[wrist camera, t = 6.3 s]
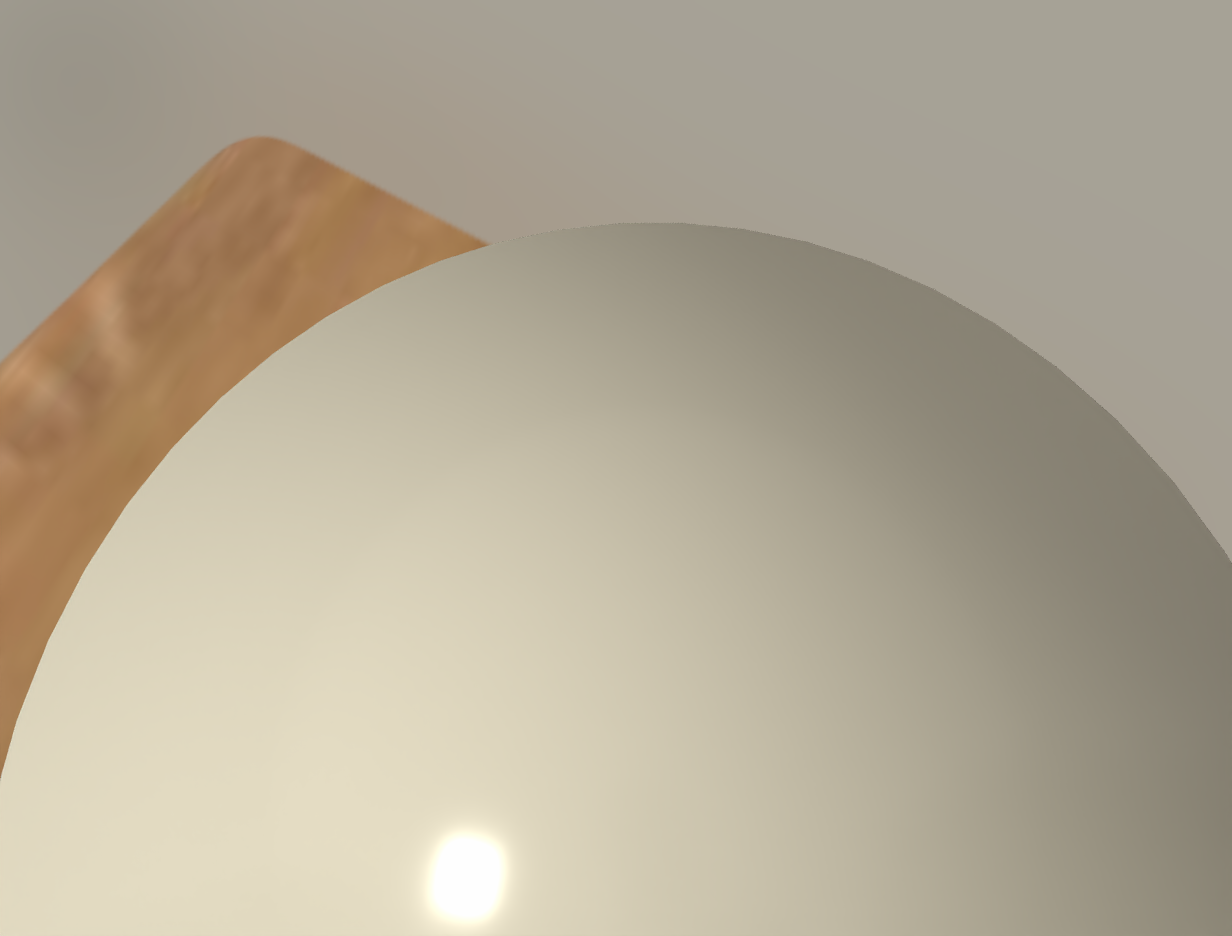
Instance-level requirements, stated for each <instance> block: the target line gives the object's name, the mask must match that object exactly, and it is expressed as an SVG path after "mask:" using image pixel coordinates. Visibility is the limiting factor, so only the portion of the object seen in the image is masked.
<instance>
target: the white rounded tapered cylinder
mask: <svg viewBox="0 0 1232 936" xmlns="http://www.w3.org/2000/svg"><path fill="white" fill-rule="evenodd" d="M0 936H1232V563H1231V561H1230V560H1229V558H1228V556H1227V554H1226V553H1225V552H1224V550H1223V549H1222V547H1220V545H1219V543H1218V542H1217V541H1216V539H1215V538H1214V537H1213V535H1212V534H1211V532H1210V531H1209V530H1208V528H1207V527H1206V526H1205V524H1204V523H1203V522H1202V520H1201V519H1200V517H1199V516H1198V515H1197V513H1196V512H1195V511H1194V509H1193V508H1192V507H1191V505H1190V504H1189V502H1188V501H1187V500H1186V498H1185V497H1184V496H1183V494H1182V493H1181V492H1180V491H1179V489H1178V488H1177V486H1176V485H1175V483H1174V482H1173V481H1172V480H1171V479H1170V478H1169V477H1168V476H1167V474H1166V473H1165V472H1164V471H1163V470H1162V469H1161V468H1160V467H1159V466H1158V465H1157V464H1156V463H1155V461H1154V460H1153V459H1152V458H1151V457H1150V456H1149V455H1148V454H1147V453H1146V451H1145V450H1144V449H1143V448H1142V447H1141V446H1140V445H1139V444H1138V443H1137V442H1136V441H1135V440H1134V438H1133V437H1132V436H1131V435H1130V434H1129V433H1128V432H1127V431H1126V430H1125V429H1124V427H1122V425H1121V424H1120V423H1119V422H1118V421H1117V420H1116V419H1115V418H1114V417H1113V416H1112V415H1110V414H1109V413H1108V412H1107V411H1106V410H1105V409H1104V408H1103V407H1101V406H1100V405H1099V404H1098V403H1097V402H1096V401H1095V400H1093V399H1092V398H1091V397H1090V396H1089V395H1088V394H1086V393H1085V392H1084V391H1083V390H1082V389H1081V388H1080V387H1079V386H1078V385H1076V384H1075V383H1074V382H1073V381H1072V380H1071V379H1069V378H1068V377H1067V376H1066V375H1065V374H1064V373H1063V372H1062V371H1060V370H1059V369H1058V368H1057V367H1056V366H1054V365H1053V364H1051V363H1050V362H1049V361H1047V360H1046V359H1044V358H1043V357H1042V356H1040V355H1039V354H1037V353H1036V352H1035V351H1033V350H1032V349H1030V348H1029V347H1027V346H1026V345H1025V344H1023V343H1022V342H1020V341H1019V340H1017V339H1016V338H1015V337H1013V336H1012V335H1010V334H1009V333H1008V332H1006V331H1005V330H1003V329H1002V328H1001V327H999V326H998V325H996V324H995V323H993V322H991V321H989V320H988V319H986V318H984V317H982V316H981V315H979V314H977V313H975V312H973V311H972V310H970V309H968V308H966V307H965V306H963V305H961V304H959V303H957V302H956V301H954V300H952V299H950V298H948V297H947V296H945V295H943V294H941V293H940V292H938V291H936V290H934V289H932V288H930V287H928V286H925V285H923V284H921V283H918V282H916V281H913V280H911V279H909V278H907V277H904V276H902V275H900V274H897V273H895V272H893V271H890V270H888V269H886V268H884V267H881V266H879V265H876V264H874V263H872V262H869V261H866V260H863V259H860V258H857V257H853V256H850V255H847V254H843V253H841V252H837V251H834V250H831V249H828V248H825V247H821V246H818V245H815V244H812V243H809V242H805V241H800V240H795V239H790V238H785V237H780V236H775V235H770V234H765V233H760V232H755V231H750V230H745V229H737V228H727V227H717V226H706V225H696V224H686V223H618V224H609V225H599V226H590V227H581V228H571V229H562V230H556V231H551V232H546V233H541V234H536V235H532V236H527V237H522V238H518V239H513V240H508V241H503V242H498V243H495V244H492V245H489V246H486V247H483V248H479V249H476V250H473V251H470V252H467V253H464V254H461V255H457V256H454V257H451V258H448V259H445V260H442V261H439V262H437V263H434V264H432V265H430V266H427V267H425V268H423V269H420V270H418V271H416V272H413V273H411V274H409V275H406V276H404V277H402V278H399V279H397V280H395V281H392V282H390V283H388V284H385V285H383V286H381V287H379V288H378V289H376V290H374V291H372V292H370V293H369V294H367V295H365V296H363V297H361V298H360V299H358V300H356V301H354V302H352V303H351V304H349V305H347V306H345V307H343V308H341V309H340V310H338V311H336V312H334V313H332V314H331V315H329V316H327V317H326V318H324V319H323V320H321V321H320V322H318V323H317V324H315V325H314V326H312V327H311V328H310V329H308V330H307V331H305V332H304V333H302V334H301V335H299V336H298V337H297V338H295V339H294V340H292V341H291V342H289V343H288V344H286V345H285V346H284V347H282V348H281V349H279V350H278V351H276V352H275V353H273V354H272V355H271V356H270V357H269V358H267V359H266V360H265V361H264V362H263V363H261V364H260V365H259V366H258V367H257V368H256V369H254V370H253V371H252V372H251V373H250V374H248V375H247V376H246V377H245V378H244V379H243V380H241V381H240V382H239V383H238V384H237V385H235V386H234V387H233V388H232V389H231V390H230V391H228V392H227V393H226V394H225V395H224V396H222V397H221V398H220V399H219V400H218V401H217V402H216V404H215V405H214V406H213V407H212V408H211V409H210V410H209V411H208V412H207V413H206V414H205V415H204V416H203V417H202V418H201V419H200V420H199V421H198V422H197V423H196V424H195V425H194V426H193V427H192V428H191V429H190V430H189V431H188V432H187V433H186V434H185V435H184V436H183V437H182V438H181V440H180V441H179V442H178V443H177V444H176V445H175V446H174V447H173V448H172V449H171V450H170V452H169V453H168V454H167V455H166V457H165V458H164V459H163V460H162V462H161V463H160V464H159V465H158V467H157V468H156V469H155V470H154V472H153V473H152V474H151V475H150V477H149V478H148V479H147V480H146V482H145V483H144V484H143V485H142V487H141V488H140V489H139V490H138V492H137V493H136V494H135V495H134V497H133V498H132V499H131V500H130V502H129V503H128V504H127V506H126V507H125V509H124V510H123V512H122V513H121V515H120V516H119V518H118V520H117V521H116V523H115V524H114V526H113V527H112V529H111V530H110V532H109V533H108V535H107V536H106V538H105V540H104V541H103V543H102V544H101V546H100V547H99V549H98V550H97V552H96V553H95V555H94V557H93V558H92V560H91V561H90V563H89V564H88V566H87V567H86V569H85V571H84V573H83V575H82V577H81V578H80V580H79V582H78V584H77V586H76V588H75V590H74V592H73V594H72V596H71V598H70V600H69V602H68V604H67V606H66V608H65V609H64V611H63V613H62V615H61V617H60V619H59V621H58V623H57V625H56V627H55V629H54V631H53V633H52V635H51V637H50V639H49V640H48V643H47V645H46V648H45V651H44V653H43V656H42V658H41V661H40V663H39V666H38V668H37V671H36V673H35V676H34V678H33V681H32V683H31V686H30V689H29V691H28V694H27V696H26V699H25V701H24V704H23V706H22V709H21V711H20V714H19V716H18V719H17V722H16V725H15V729H14V733H13V736H12V740H11V743H10V747H9V750H8V754H7V757H6V761H5V765H4V768H3V772H2V775H1V779H0Z"/></svg>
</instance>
